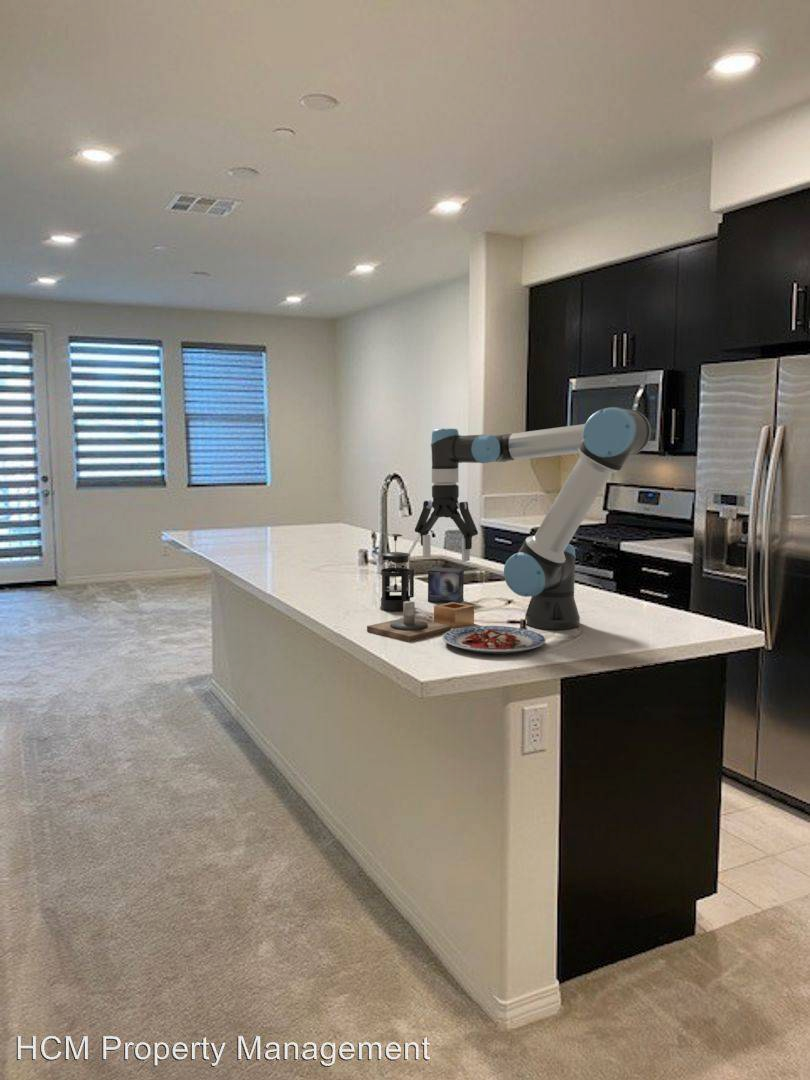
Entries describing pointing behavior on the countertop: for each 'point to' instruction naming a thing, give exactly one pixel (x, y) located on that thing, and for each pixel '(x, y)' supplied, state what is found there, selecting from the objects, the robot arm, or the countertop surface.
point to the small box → (445, 585)
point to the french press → (395, 601)
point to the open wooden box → (454, 614)
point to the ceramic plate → (493, 639)
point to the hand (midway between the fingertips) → (445, 559)
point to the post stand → (408, 626)
